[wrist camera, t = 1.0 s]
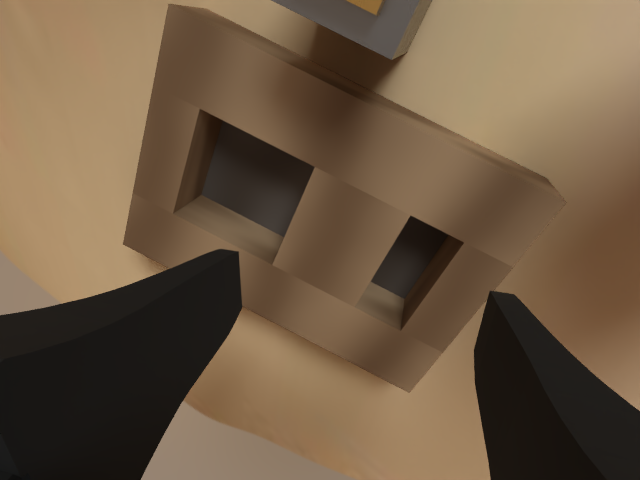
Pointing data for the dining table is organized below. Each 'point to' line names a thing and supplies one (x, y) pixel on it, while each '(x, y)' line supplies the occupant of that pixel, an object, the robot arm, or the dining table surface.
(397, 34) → the square bit
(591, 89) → the dining table surface
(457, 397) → the dining table surface
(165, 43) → the socket board
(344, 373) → the dining table surface
